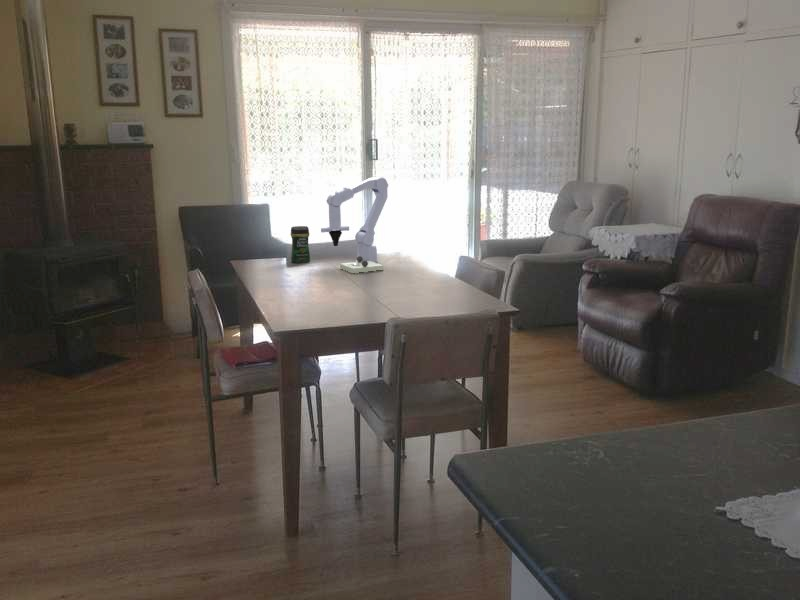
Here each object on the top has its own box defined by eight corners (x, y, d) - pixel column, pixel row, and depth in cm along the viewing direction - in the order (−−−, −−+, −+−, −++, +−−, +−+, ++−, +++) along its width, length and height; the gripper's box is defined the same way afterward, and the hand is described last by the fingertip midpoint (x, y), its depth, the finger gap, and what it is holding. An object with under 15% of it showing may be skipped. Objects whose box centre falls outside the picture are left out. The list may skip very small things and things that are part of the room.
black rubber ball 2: (366, 265, 350) (366, 259, 349) (369, 266, 347) (368, 260, 347) (360, 266, 349) (360, 260, 348) (363, 267, 346) (363, 261, 345)
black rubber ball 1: (361, 261, 362) (361, 255, 361) (363, 262, 359) (363, 256, 358) (355, 262, 360) (355, 256, 360) (358, 262, 358) (358, 256, 357)
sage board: (369, 265, 364) (369, 260, 364) (383, 270, 352) (383, 265, 351) (340, 268, 357) (340, 263, 356) (353, 273, 344) (352, 268, 344)
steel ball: (350, 269, 353) (355, 269, 355) (353, 270, 350) (359, 271, 352) (351, 262, 352) (356, 263, 354) (355, 264, 350) (360, 264, 352)
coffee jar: (292, 263, 371) (291, 227, 367) (290, 261, 378) (289, 225, 374) (311, 262, 374) (310, 226, 369) (309, 260, 381) (307, 224, 377)
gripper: (324, 220, 354) (325, 248, 357) (351, 218, 361) (352, 245, 364) (319, 218, 360) (319, 246, 363) (345, 217, 367) (346, 243, 370)
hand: (335, 245), depth 364 cm, fingers closed
